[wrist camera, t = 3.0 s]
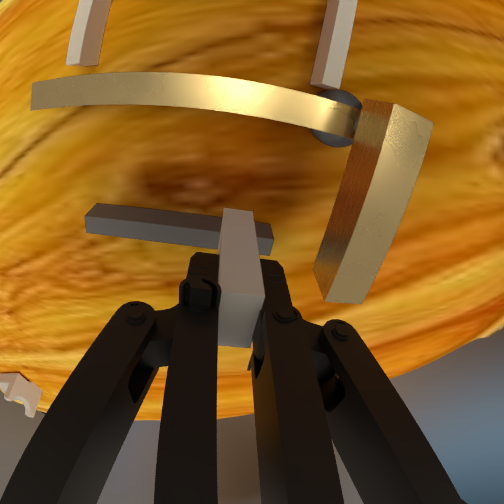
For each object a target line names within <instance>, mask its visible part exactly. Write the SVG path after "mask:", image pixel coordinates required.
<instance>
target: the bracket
mask: <svg viewBox="0 0 504 504" xmlns="http://www.w3.org/2000/svg"><path fill="white" fill-rule="evenodd" d="M0 388H1V389H2V390H4V391H5V392H6V393H5V395H4V398H5V399H6V400H7V401H12V399H14V400H19V401H23V403H24V405H25V415H26V416H28V417H32V418H33V417H34V414H35V411H36V408H37V405H38V403H39V400H40V397H41V394H42V390H41V389H40V388H39V387H38V386H36V385H35V384H34V383H33V382H32V381H27V380H26V379H25V378H23V377H22V376H21V375H20V374H19V373H8V374H0Z"/></svg>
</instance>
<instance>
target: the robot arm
mask: <svg viewBox="0 0 504 504" xmlns="http://www.w3.org/2000/svg"><path fill="white" fill-rule="evenodd" d="M286 283H287V282H286V278H285V274H284V270H283V267H282V266H281V265H280V264H279V263H278V262H277V261H274V260H266V259H260V258H259V251H258V244H257V237H256V230H255V224H254V217H253V212H252V211H245V210H238V209H231V208H224V211H223V218H222V225H221V231H220V238H219V245H218V253H217V254H210V253H202V252H196V253H195V254H194V255H193V256H192V257H191V259H190V263H189V268H188V274H187V278H186V279H185V280H183V281H182V282H181V284H180V286H179V304H177V305H176V306H174V307H172V308H170V309H165V310H158V311H155V310H154V309H153V308H152V307H151V306H150V305H148V304H147V303H145V302H140V301H133V302H128V303H126V304H123V305H122V306H121V307H120V308H119V309H118V310H117V311H116V312H115V314H114V315H113V316H112V318H111V319H110V320H109V322H108V323H107V324H106V326H105V327H104V328H103V330H102V331H101V333H100V334H99V335H98V337H97V338H96V339H95V341H94V342H93V344H92V345H91V346H90V348H89V349H88V351H87V352H86V353H85V355H84V356H83V358H82V359H81V361H80V362H79V363H78V365H77V366H76V368H75V369H74V371H73V372H72V374H71V375H70V377H69V378H68V380H67V381H66V383H65V384H64V386H63V387H62V389H61V390H60V392H59V394H58V395H57V397H56V398H55V400H54V401H53V403H52V405H51V406H50V408H49V409H48V411H47V413H46V414H45V416H44V418H43V419H42V421H41V423H40V425H39V426H38V428H37V430H36V431H35V433H34V435H33V437H32V438H31V440H30V442H29V444H28V446H27V447H26V449H25V451H24V453H23V455H22V457H21V459H20V460H19V462H18V464H17V466H16V468H15V470H14V472H13V475H12V476H11V478H10V481H9V483H8V485H7V487H6V489H5V491H4V493H3V496H2V498H1V500H0V504H96V503H97V501H98V499H99V496H100V494H101V492H102V489H103V487H104V485H105V482H106V480H107V478H108V476H109V473H110V471H111V469H112V467H113V464H114V462H115V460H116V458H117V455H118V453H119V451H120V449H121V446H122V445H123V442H124V440H125V438H126V436H127V434H128V432H129V429H130V427H131V425H132V423H133V421H134V419H135V417H136V415H137V413H138V411H139V408H140V406H141V404H142V402H143V400H144V398H145V396H146V394H147V392H148V390H149V388H150V386H151V384H152V382H153V380H154V378H155V376H156V374H157V372H158V370H159V367H163V366H168V371H167V378H166V384H165V392H164V399H163V407H162V415H161V423H160V432H159V442H158V452H157V464H156V476H155V477H156V478H155V493H154V504H218V498H217V497H218V496H217V442H216V441H217V439H216V438H217V435H216V434H217V427H216V426H217V425H216V424H217V353H218V345H220V346H231V347H244V348H250V347H251V343H252V341H253V352H252V355H251V358H250V361H249V365H248V369H247V370H249V371H250V369H251V371H252V385H253V399H254V413H255V427H256V440H257V453H258V465H259V479H260V491H261V503H262V504H344V500H343V495H342V490H341V485H340V479H339V474H338V470H337V464H336V459H335V454H334V450H333V445H332V441H333V443H334V445H335V447H336V449H337V451H338V453H339V455H340V457H341V459H342V461H343V463H344V465H345V467H346V469H347V471H348V473H349V475H350V477H351V479H352V481H353V483H354V485H355V487H356V489H357V491H358V493H359V495H360V497H361V499H362V501H363V503H364V504H467V503H466V502H464V501H463V500H462V499H461V498H460V496H459V495H458V493H457V491H456V489H455V487H454V485H453V484H452V482H451V480H450V478H449V477H448V475H447V473H446V471H445V469H444V468H443V466H442V464H441V462H440V461H439V460H438V457H437V456H436V454H435V452H434V451H433V449H432V447H431V445H430V444H429V442H428V441H427V439H426V437H425V436H424V434H423V432H422V431H421V429H420V427H419V426H418V424H417V423H416V421H415V419H414V418H413V416H412V414H411V413H410V411H409V410H408V408H407V407H406V405H405V403H404V402H403V400H402V399H401V397H400V396H399V394H398V393H397V391H396V389H395V388H394V386H393V385H392V384H391V382H390V380H389V379H388V377H387V376H386V374H385V373H384V371H383V370H382V368H381V367H380V365H379V364H378V362H377V361H376V359H375V358H374V356H373V355H372V353H371V352H370V350H369V349H368V347H367V346H366V344H365V343H364V342H363V340H362V339H361V337H360V336H359V334H358V333H357V331H356V330H355V329H354V328H353V327H352V326H351V325H350V324H349V323H347V322H345V321H342V320H339V319H332V320H330V321H327V322H326V323H325V325H324V326H320V325H317V324H313V323H310V322H308V321H305V320H304V319H302V316H301V314H300V312H299V311H298V310H297V309H296V308H295V307H293V306H292V302H291V298H290V294H289V290H288V286H287V284H286ZM331 439H332V440H331Z"/></svg>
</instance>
